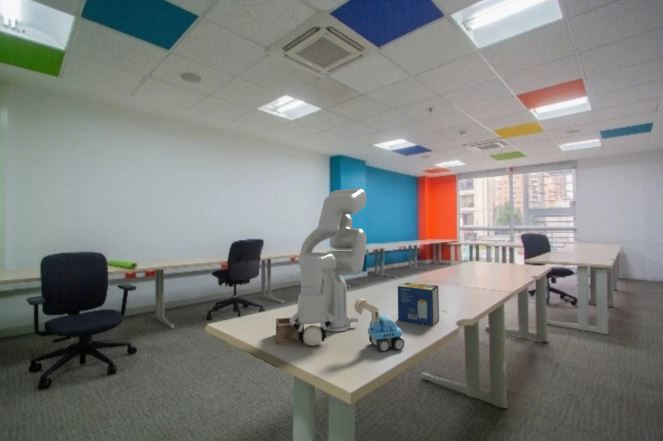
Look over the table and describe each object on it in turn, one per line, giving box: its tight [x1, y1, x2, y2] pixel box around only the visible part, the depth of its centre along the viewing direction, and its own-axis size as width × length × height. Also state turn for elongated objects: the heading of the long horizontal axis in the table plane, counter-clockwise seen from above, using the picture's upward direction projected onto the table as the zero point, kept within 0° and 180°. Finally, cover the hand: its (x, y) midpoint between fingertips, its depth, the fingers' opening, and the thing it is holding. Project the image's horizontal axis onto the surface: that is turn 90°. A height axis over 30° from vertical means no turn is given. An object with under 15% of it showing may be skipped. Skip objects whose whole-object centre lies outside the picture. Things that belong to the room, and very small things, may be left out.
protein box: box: [397, 282, 440, 327], centre depth 137 cm, size 10×15×16 cm
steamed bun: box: [303, 324, 322, 347], centre depth 108 cm, size 7×7×7 cm
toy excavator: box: [353, 297, 405, 353], centre depth 106 cm, size 9×17×17 cm, turn 106°
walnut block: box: [275, 317, 305, 345], centre depth 115 cm, size 10×10×6 cm
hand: (312, 340), depth 108 cm, fingers closed on steamed bun, 6 cm apart
